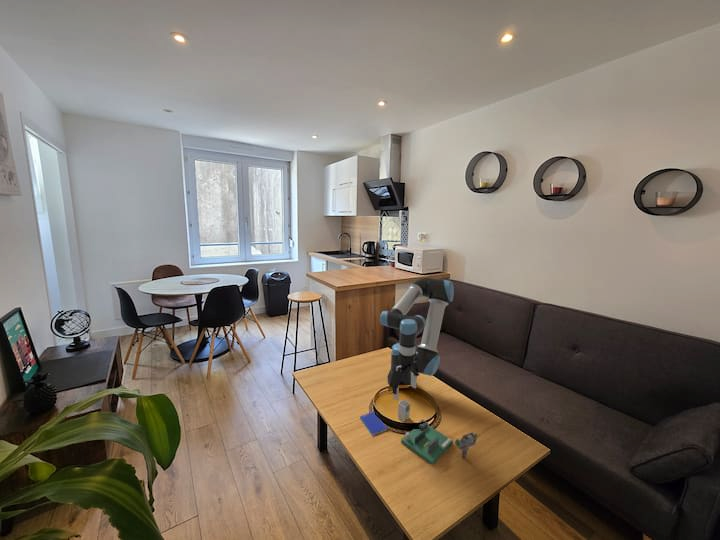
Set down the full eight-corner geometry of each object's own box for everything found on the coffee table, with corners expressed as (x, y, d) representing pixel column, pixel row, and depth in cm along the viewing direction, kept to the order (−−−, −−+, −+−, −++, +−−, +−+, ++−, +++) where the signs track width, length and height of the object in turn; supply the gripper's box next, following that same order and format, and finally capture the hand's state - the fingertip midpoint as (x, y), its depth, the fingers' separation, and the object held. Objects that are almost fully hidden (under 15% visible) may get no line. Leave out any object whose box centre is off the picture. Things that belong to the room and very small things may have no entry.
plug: (402, 413, 151) (403, 398, 149) (410, 418, 148) (411, 403, 146) (397, 417, 148) (398, 402, 146) (405, 422, 145) (406, 407, 143)
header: (424, 435, 135) (424, 427, 134) (438, 444, 130) (439, 437, 129) (414, 443, 131) (415, 435, 130) (429, 453, 125) (429, 445, 124)
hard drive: (359, 416, 147) (372, 433, 136) (374, 411, 151) (387, 427, 140) (359, 419, 147) (372, 436, 137) (374, 413, 151) (387, 430, 140)
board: (422, 424, 144) (422, 416, 143) (452, 443, 133) (453, 435, 131) (401, 442, 133) (401, 433, 132) (432, 465, 122) (432, 456, 121)
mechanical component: (451, 458, 125) (454, 438, 123) (471, 451, 129) (473, 431, 126) (456, 464, 122) (459, 444, 120) (476, 456, 126) (478, 436, 124)
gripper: (416, 341, 151) (414, 379, 156) (382, 358, 134) (381, 400, 139) (429, 346, 145) (426, 385, 150) (395, 365, 129) (393, 408, 133)
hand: (404, 392), depth 145 cm, fingers open, 13 cm apart
